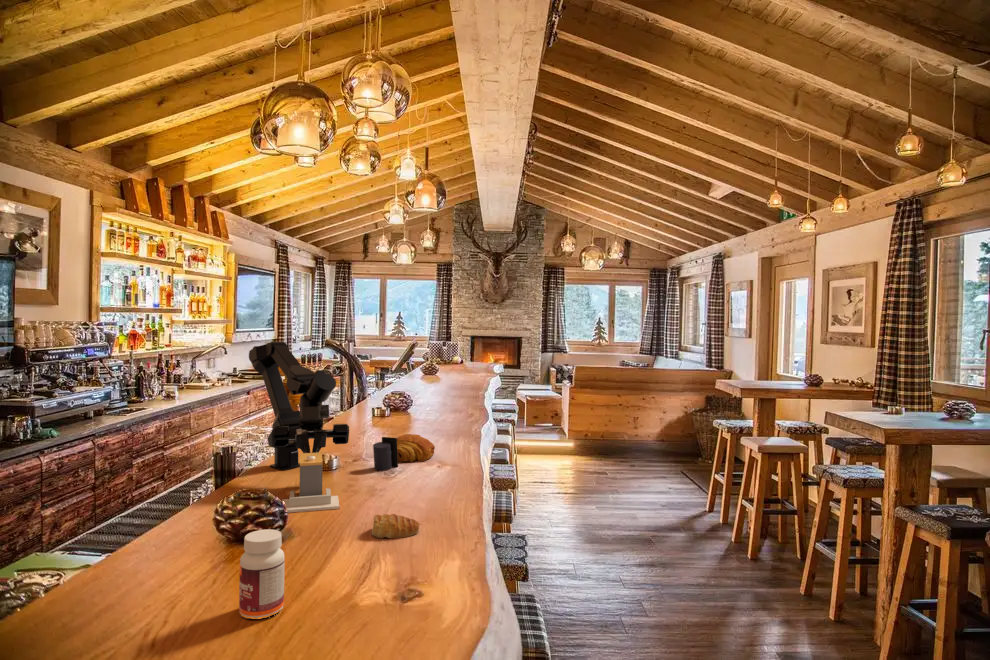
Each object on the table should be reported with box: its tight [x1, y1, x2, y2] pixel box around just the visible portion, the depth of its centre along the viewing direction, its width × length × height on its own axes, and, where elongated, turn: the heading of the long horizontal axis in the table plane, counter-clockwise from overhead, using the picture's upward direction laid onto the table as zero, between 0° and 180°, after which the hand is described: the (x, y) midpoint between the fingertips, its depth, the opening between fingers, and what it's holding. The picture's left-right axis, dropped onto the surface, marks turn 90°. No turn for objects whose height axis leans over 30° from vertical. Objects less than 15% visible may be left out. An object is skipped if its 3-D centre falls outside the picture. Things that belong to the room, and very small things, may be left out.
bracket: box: [282, 487, 340, 514], centre depth 135 cm, size 8×13×2 cm, turn 107°
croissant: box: [396, 433, 436, 463], centre depth 183 cm, size 14×16×8 cm
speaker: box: [372, 436, 399, 472], centre depth 169 cm, size 6×5×9 cm
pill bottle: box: [238, 528, 286, 618], centre depth 87 cm, size 6×6×11 cm
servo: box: [299, 451, 324, 497], centre depth 141 cm, size 10×5×10 cm, turn 18°
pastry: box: [371, 513, 420, 539], centre depth 119 cm, size 9×7×4 cm
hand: (311, 464), depth 146 cm, fingers closed, pressing on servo
